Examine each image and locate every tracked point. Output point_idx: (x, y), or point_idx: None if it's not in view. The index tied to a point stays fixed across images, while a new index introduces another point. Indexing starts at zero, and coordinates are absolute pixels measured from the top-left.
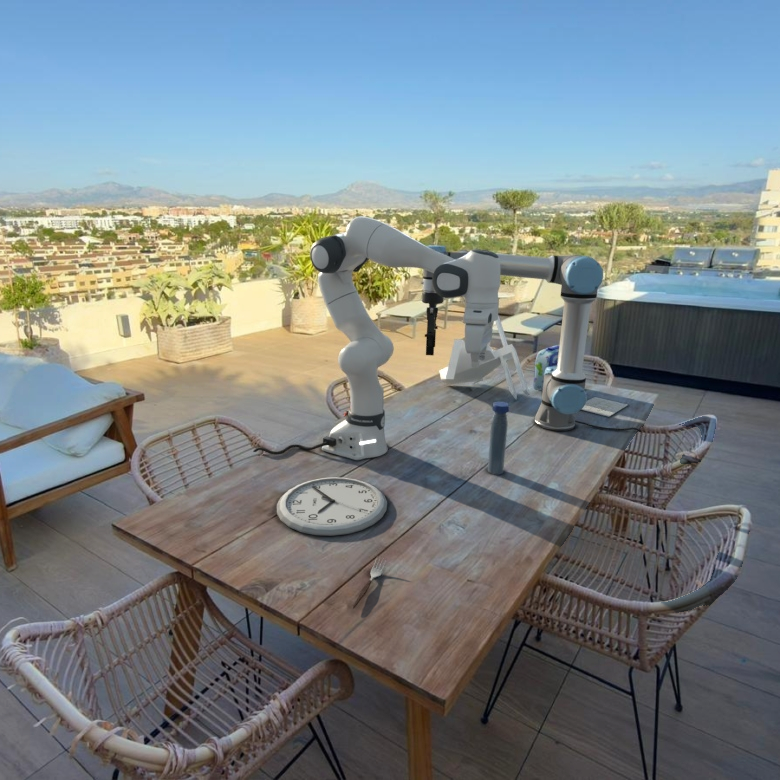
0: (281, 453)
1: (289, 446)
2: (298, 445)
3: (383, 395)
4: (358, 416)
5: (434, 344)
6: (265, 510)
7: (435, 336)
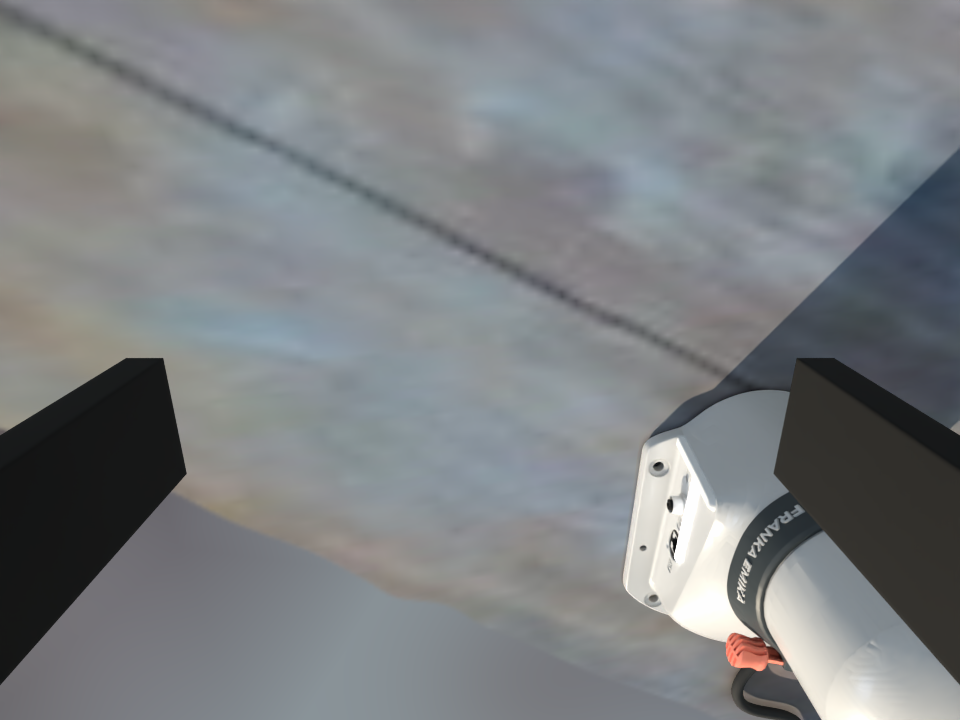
0: (793, 714)
1: (754, 710)
2: (742, 689)
3: None
4: None
5: (140, 387)
6: None
7: (3, 456)
